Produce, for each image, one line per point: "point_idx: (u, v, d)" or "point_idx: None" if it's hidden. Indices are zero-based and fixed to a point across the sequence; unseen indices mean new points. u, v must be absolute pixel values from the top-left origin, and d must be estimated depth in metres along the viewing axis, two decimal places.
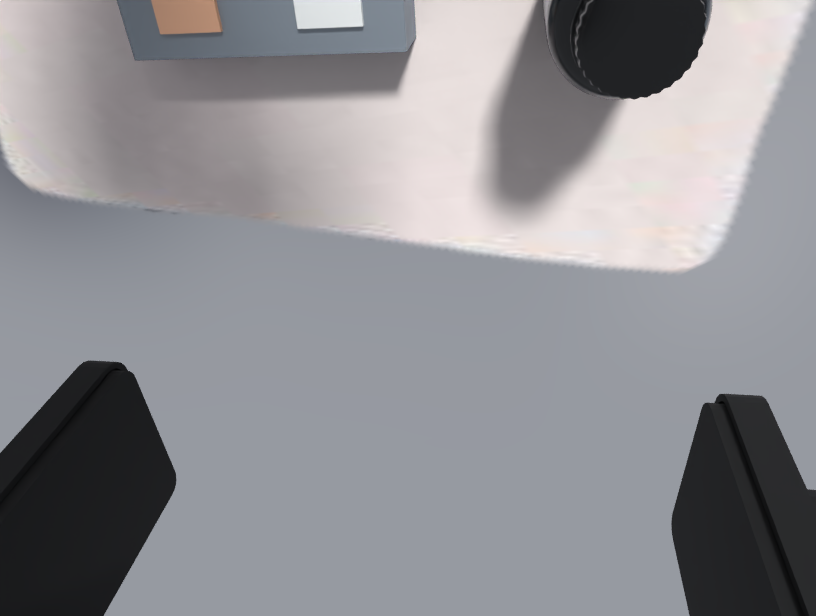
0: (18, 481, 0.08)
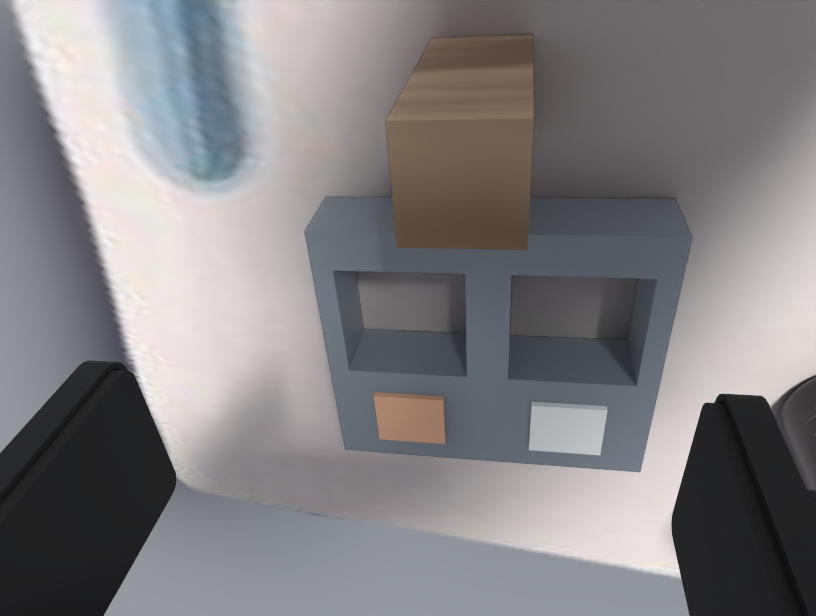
0: (18, 481, 0.08)
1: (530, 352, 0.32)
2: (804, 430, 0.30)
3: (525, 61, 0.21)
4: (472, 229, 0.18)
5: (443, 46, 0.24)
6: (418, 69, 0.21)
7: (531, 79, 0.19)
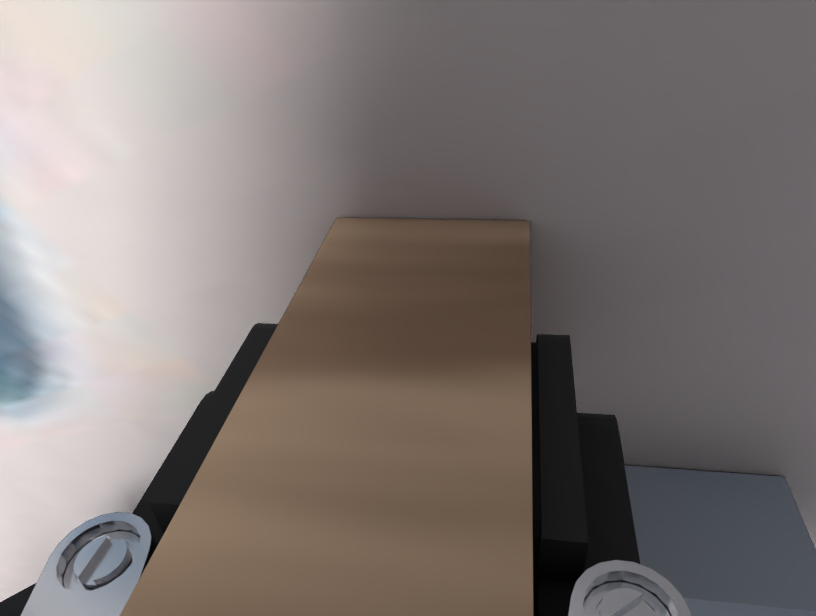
0: None
1: None
2: None
3: (513, 350, 0.09)
4: None
5: (349, 256, 0.12)
6: (266, 365, 0.09)
7: (527, 468, 0.07)
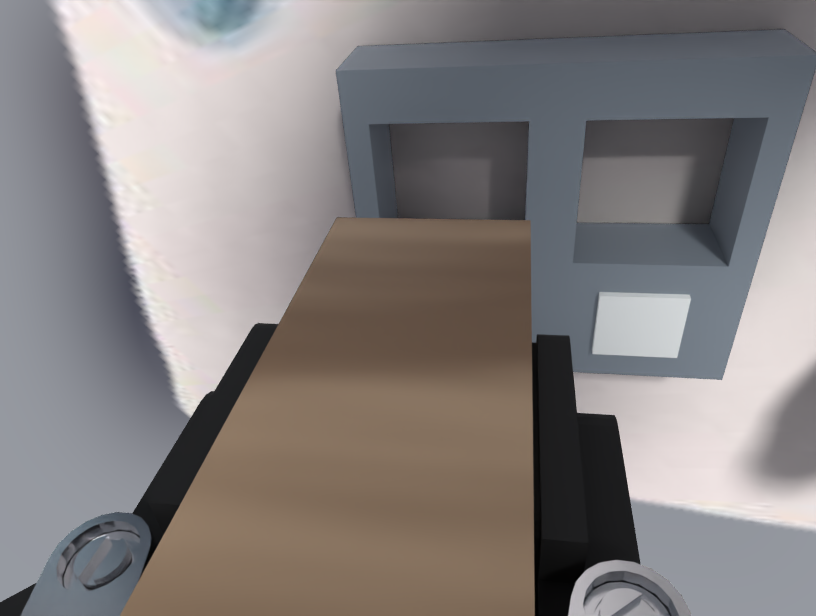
0: None
1: (595, 237, 0.27)
2: None
3: (514, 350, 0.09)
4: None
5: (349, 255, 0.12)
6: (266, 365, 0.09)
7: (528, 469, 0.07)
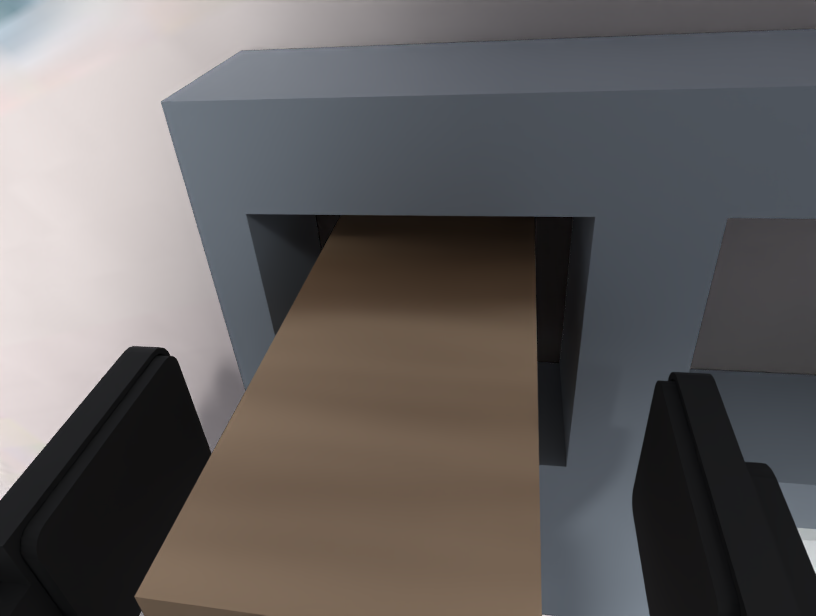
0: (76, 459, 0.08)
1: None
2: None
3: (520, 294, 0.10)
4: None
5: (371, 217, 0.13)
6: (302, 303, 0.10)
7: (533, 383, 0.09)
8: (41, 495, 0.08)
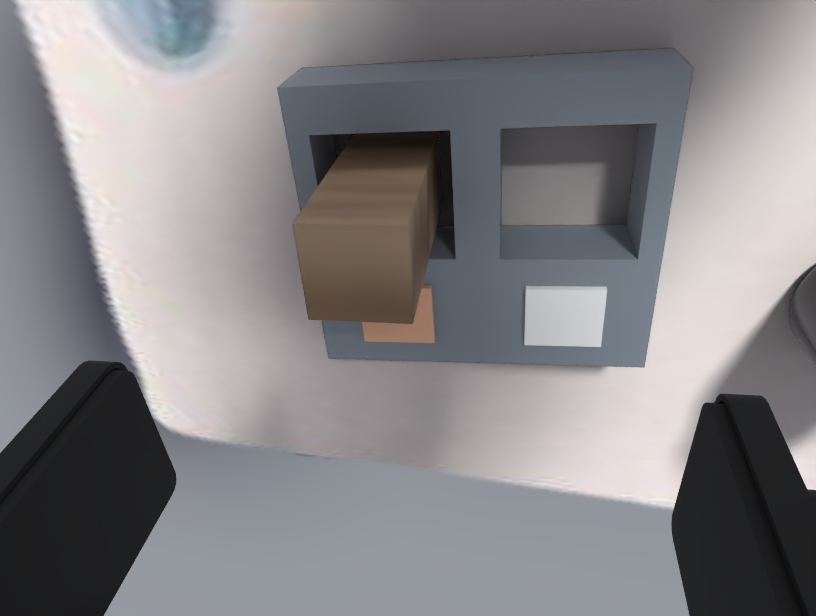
0: (18, 481, 0.08)
1: (523, 237, 0.30)
2: None
3: (422, 163, 0.25)
4: (367, 307, 0.23)
5: (362, 142, 0.28)
6: (334, 168, 0.25)
7: (420, 183, 0.24)
8: None
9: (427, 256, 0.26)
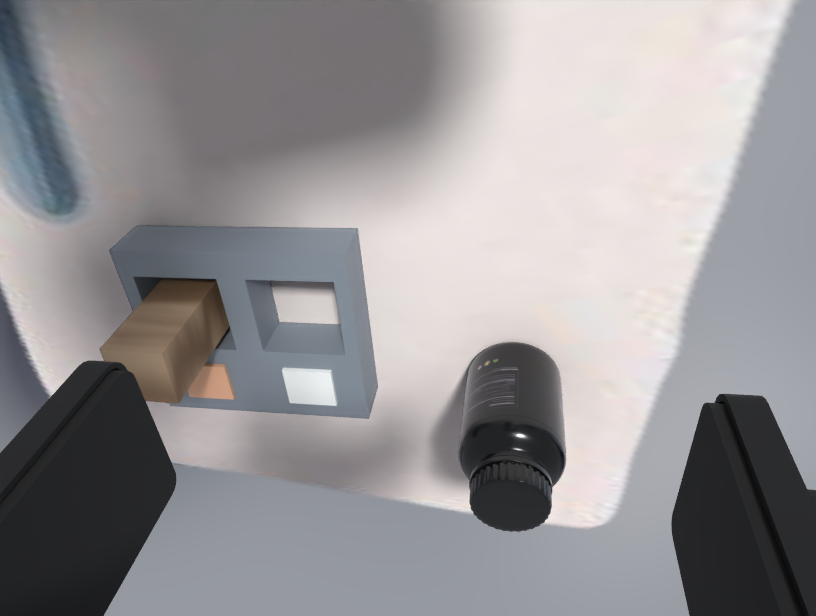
0: (18, 481, 0.08)
1: (287, 333, 0.45)
2: (467, 386, 0.44)
3: (200, 298, 0.41)
4: (151, 393, 0.38)
5: None
6: (145, 300, 0.41)
7: (188, 317, 0.39)
8: None
9: (208, 353, 0.42)
